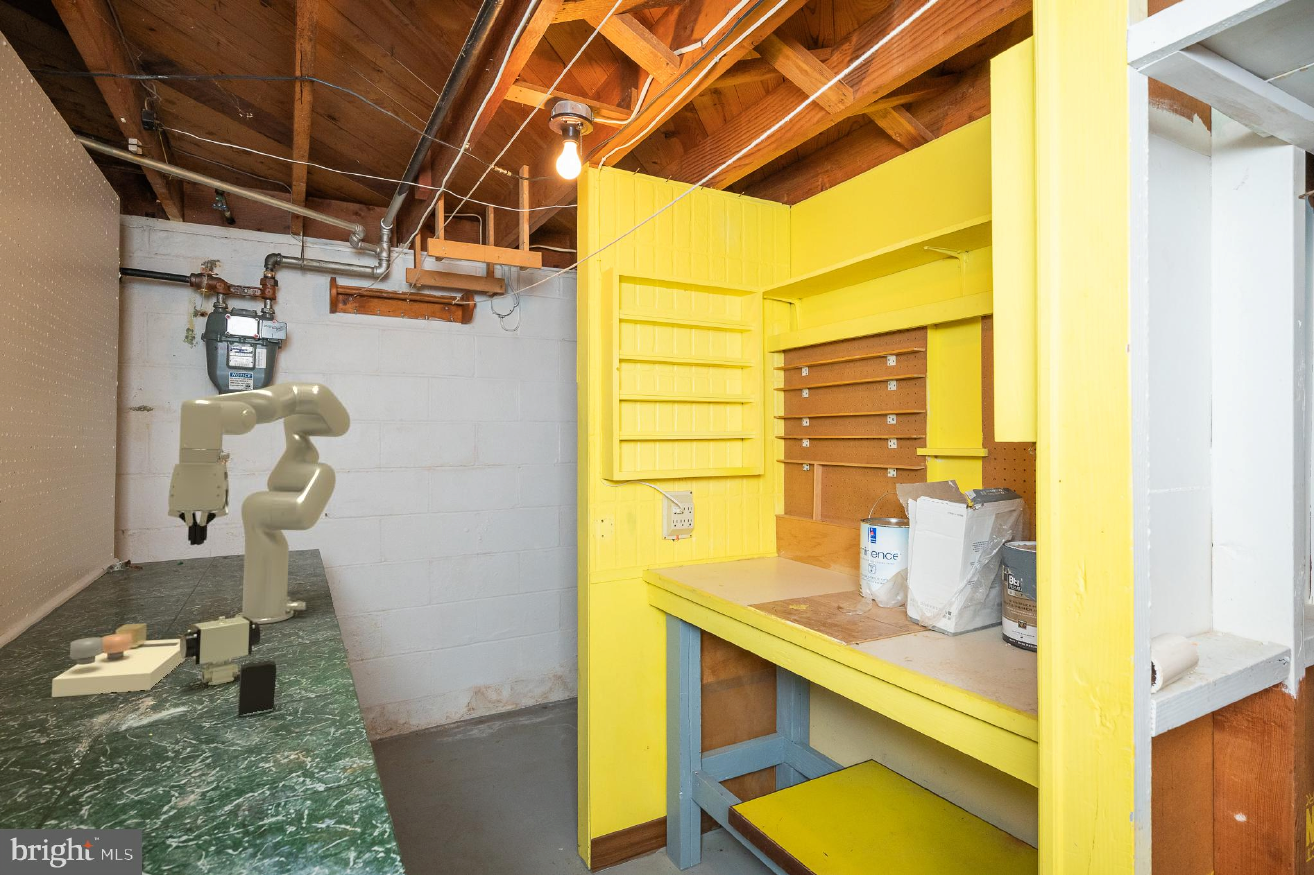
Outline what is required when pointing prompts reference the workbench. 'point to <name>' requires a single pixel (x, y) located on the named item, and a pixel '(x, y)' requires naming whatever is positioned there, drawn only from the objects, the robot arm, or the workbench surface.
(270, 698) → the ink cartridge
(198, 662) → the pneumatic valve
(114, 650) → the terracotta button
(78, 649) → the grey button
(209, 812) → the workbench surface
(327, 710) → the workbench surface
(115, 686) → the control panel
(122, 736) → the workbench surface
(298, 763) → the workbench surface
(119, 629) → the brass slider
